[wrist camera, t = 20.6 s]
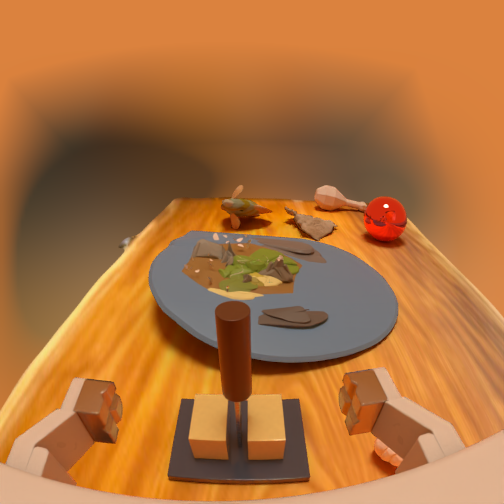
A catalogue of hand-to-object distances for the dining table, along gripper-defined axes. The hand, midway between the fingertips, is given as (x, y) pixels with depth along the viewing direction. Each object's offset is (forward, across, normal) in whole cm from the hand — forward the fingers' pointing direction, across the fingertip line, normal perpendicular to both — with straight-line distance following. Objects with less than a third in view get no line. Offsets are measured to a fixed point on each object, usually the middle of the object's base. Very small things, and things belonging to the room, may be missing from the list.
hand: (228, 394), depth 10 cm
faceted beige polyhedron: (+94, -38, +23) cm, 104 cm away
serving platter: (+44, -9, +23) cm, 50 cm away
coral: (+77, -23, +23) cm, 83 cm away
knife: (+12, 0, +22) cm, 25 cm away
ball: (+66, -41, +23) cm, 81 cm away
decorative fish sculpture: (+82, -5, +23) cm, 85 cm away
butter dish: (+12, 0, +23) cm, 26 cm away
